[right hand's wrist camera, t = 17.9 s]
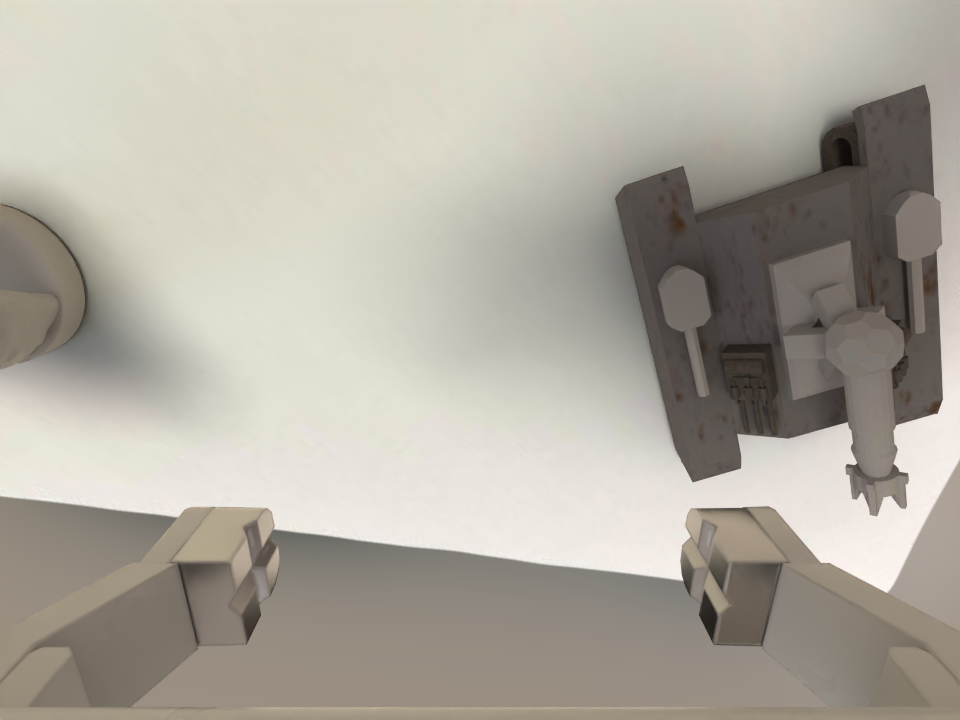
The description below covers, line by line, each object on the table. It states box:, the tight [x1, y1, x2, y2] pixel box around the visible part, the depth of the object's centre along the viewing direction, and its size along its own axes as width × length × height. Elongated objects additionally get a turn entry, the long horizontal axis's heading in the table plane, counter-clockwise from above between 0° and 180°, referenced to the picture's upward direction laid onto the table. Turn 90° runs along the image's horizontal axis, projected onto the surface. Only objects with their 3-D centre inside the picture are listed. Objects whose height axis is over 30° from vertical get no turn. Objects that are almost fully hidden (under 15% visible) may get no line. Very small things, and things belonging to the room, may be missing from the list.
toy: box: [616, 85, 943, 516], centre depth 38 cm, size 25×20×15 cm
